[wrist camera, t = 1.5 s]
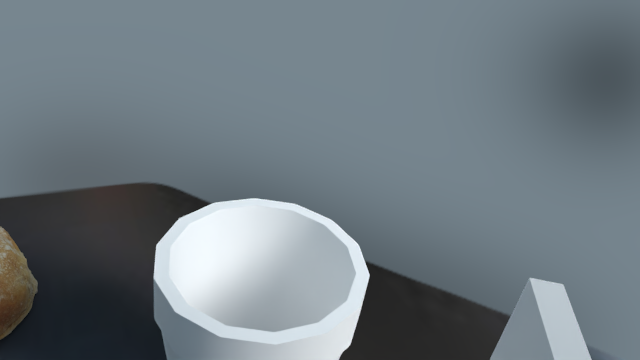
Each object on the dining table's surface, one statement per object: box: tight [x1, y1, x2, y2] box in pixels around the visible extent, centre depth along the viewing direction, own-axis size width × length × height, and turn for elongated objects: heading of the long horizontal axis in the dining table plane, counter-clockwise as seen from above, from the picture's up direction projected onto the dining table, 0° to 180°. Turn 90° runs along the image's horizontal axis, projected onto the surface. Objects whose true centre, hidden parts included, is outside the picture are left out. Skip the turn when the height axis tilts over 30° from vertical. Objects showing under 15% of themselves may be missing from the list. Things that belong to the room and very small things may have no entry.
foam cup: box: [154, 198, 370, 360], centre depth 29 cm, size 10×9×13 cm
